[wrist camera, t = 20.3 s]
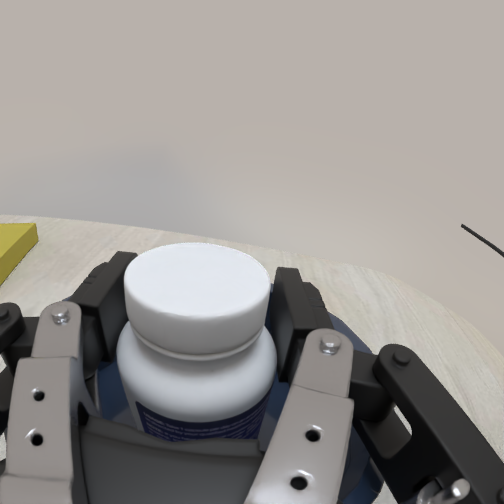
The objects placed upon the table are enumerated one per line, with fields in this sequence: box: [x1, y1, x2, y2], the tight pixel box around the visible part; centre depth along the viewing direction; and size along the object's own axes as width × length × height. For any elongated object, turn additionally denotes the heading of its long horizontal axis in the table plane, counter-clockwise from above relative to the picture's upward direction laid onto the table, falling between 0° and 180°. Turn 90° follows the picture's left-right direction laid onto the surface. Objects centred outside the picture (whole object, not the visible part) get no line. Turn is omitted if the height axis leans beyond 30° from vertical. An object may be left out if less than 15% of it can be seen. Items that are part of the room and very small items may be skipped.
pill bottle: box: [116, 242, 277, 442], centre depth 9 cm, size 5×5×9 cm
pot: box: [4, 283, 394, 504], centre depth 10 cm, size 15×15×6 cm
